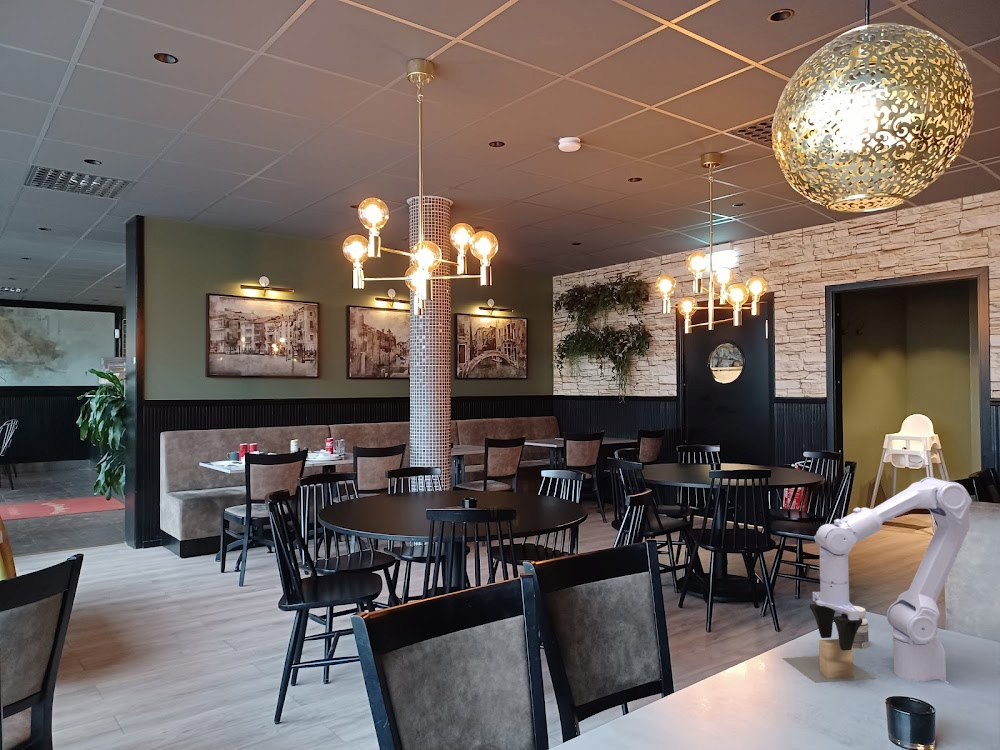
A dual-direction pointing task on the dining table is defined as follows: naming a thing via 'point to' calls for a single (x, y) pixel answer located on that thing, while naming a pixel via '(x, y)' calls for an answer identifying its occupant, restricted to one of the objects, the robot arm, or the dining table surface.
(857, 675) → the board
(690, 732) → the dining table surface
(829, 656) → the block
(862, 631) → the pill bottle
